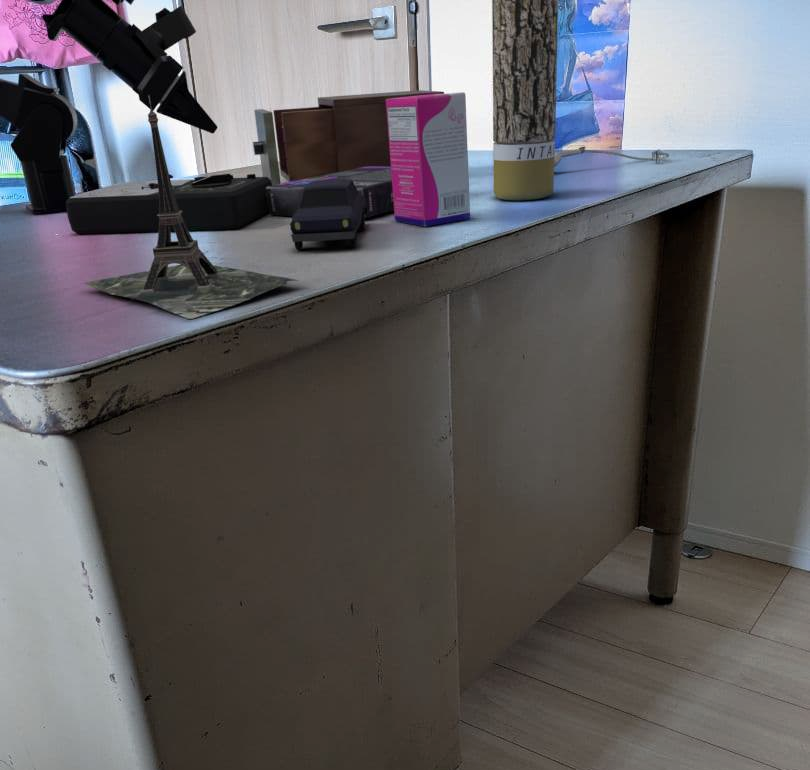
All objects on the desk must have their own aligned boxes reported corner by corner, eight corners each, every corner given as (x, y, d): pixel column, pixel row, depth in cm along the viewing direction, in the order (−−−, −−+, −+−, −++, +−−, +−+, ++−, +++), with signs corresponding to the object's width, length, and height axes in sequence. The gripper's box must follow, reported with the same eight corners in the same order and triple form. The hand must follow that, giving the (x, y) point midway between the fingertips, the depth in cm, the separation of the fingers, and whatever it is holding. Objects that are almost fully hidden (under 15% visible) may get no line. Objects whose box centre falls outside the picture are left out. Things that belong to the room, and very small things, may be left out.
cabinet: (340, 189, 114) (333, 99, 109) (325, 179, 125) (317, 97, 120) (446, 179, 117) (444, 91, 112) (422, 170, 128) (419, 90, 123)
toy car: (291, 254, 77) (284, 194, 74) (313, 226, 89) (308, 174, 87) (356, 251, 76) (351, 190, 74) (369, 223, 89) (365, 170, 86)
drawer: (262, 188, 112) (253, 113, 108) (254, 179, 122) (245, 110, 118) (373, 178, 115) (367, 104, 111) (356, 170, 125) (351, 102, 121)
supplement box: (438, 213, 92) (433, 92, 86) (471, 219, 87) (469, 92, 82) (392, 221, 89) (384, 96, 84) (424, 227, 85) (418, 96, 79)
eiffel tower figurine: (304, 288, 65) (282, 86, 58) (190, 319, 58) (150, 97, 52) (190, 267, 74) (160, 91, 67) (81, 292, 68) (36, 101, 61)
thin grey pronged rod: (659, 183, 124) (529, 180, 119) (660, 157, 124) (529, 153, 119) (680, 174, 119) (545, 171, 114) (681, 147, 118) (545, 143, 114)
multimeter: (240, 229, 90) (232, 178, 87) (70, 235, 93) (58, 185, 91) (276, 209, 101) (271, 163, 99) (124, 215, 104) (115, 170, 102)
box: (372, 194, 111) (266, 216, 97) (370, 165, 110) (262, 182, 96) (464, 196, 104) (363, 219, 90) (463, 164, 102) (360, 183, 88)
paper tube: (481, 199, 99) (477, -65, 87) (520, 191, 103) (522, -63, 91) (526, 203, 94) (529, -75, 82) (566, 194, 98) (574, -73, 86)
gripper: (146, -28, 96) (260, 78, 103) (148, -13, 112) (246, 78, 119) (90, 58, 98) (204, 155, 106) (99, 61, 114) (198, 145, 122)
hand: (215, 130), depth 113 cm, fingers closed
